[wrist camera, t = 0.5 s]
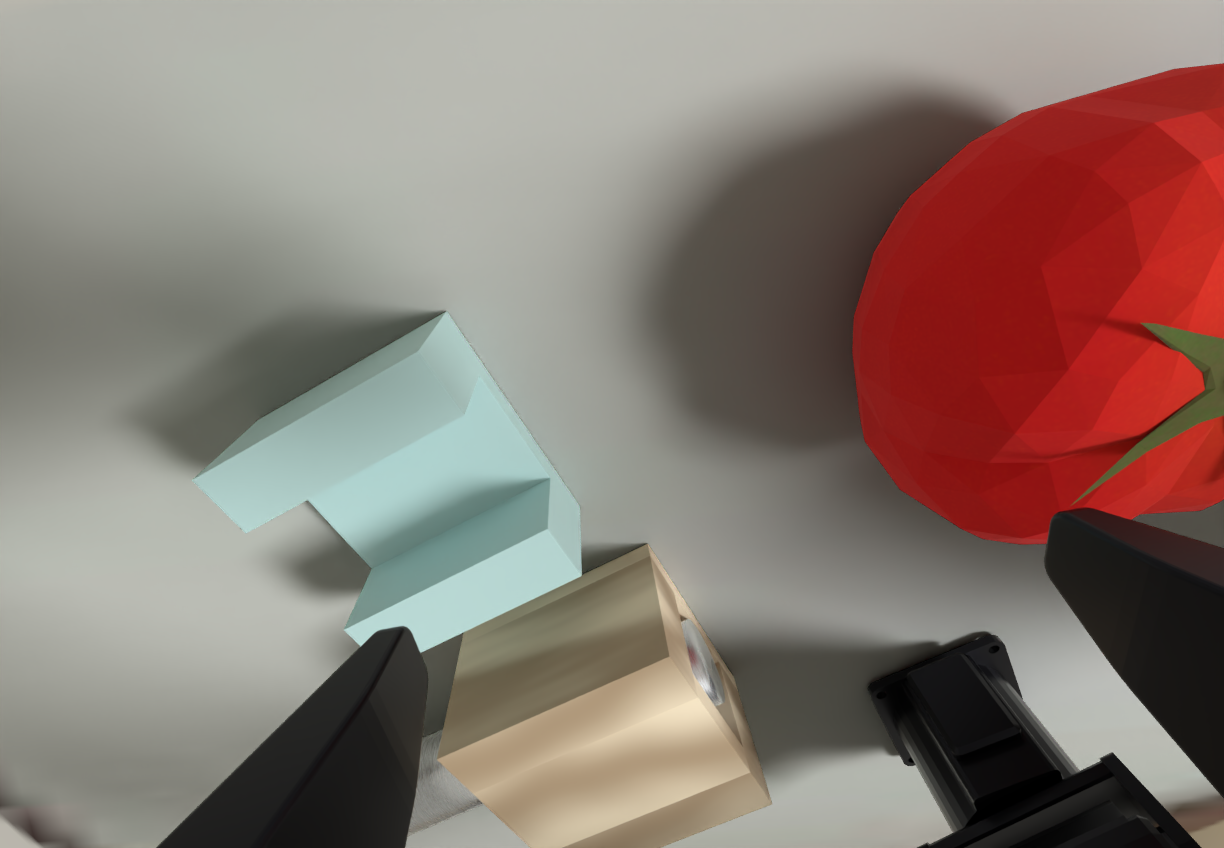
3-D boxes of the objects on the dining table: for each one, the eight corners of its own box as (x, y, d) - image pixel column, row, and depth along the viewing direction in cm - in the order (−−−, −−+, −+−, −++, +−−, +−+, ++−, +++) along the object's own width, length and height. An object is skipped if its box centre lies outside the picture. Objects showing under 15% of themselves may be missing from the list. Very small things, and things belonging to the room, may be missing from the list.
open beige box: (733, 677, 28) (772, 804, 23) (568, 748, 30) (568, 883, 24) (647, 543, 25) (669, 656, 19) (464, 631, 26) (436, 759, 21)
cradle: (579, 506, 24) (581, 575, 20) (412, 589, 25) (384, 669, 21) (446, 311, 20) (418, 351, 16) (258, 419, 21) (191, 480, 18)
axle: (680, 602, 25) (696, 668, 22) (713, 652, 27) (732, 720, 24) (367, 745, 28) (344, 821, 25) (413, 783, 29) (396, 860, 26)
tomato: (734, 373, 22) (853, 543, 13) (967, 2, 17) (1412, -150, 8) (963, 486, 25) (1196, 693, 15) (1215, 191, 20) (1755, 236, 11)
